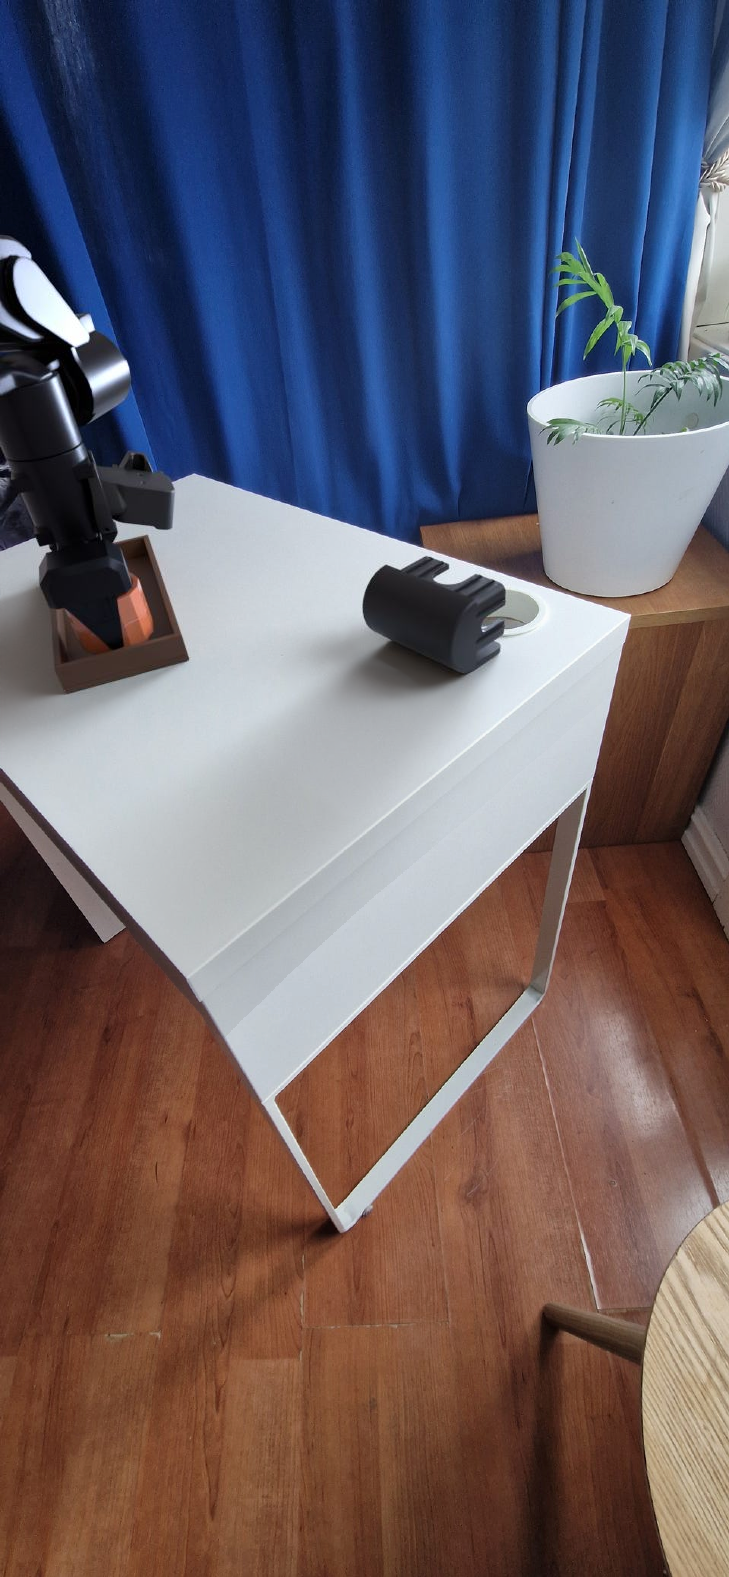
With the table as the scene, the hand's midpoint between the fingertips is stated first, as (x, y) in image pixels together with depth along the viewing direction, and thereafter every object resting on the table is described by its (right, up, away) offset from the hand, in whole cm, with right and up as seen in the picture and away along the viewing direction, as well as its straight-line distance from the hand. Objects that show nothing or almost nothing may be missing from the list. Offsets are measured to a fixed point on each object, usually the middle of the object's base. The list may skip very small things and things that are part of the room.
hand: (114, 630), depth 64 cm
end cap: (+29, -3, -3) cm, 29 cm away
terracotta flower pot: (0, -1, +1) cm, 1 cm away
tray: (-2, +3, +7) cm, 8 cm away
